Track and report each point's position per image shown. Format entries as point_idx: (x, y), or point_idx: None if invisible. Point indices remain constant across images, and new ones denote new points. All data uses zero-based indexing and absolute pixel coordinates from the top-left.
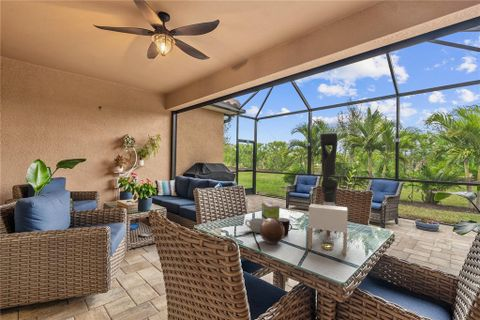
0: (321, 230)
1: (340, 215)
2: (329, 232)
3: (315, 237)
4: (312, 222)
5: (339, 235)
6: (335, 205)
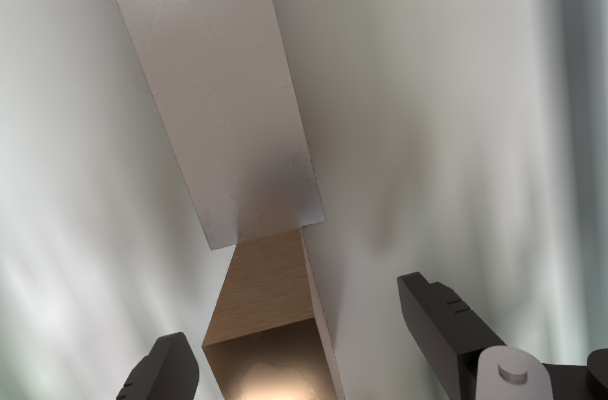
0: (413, 279)
1: None
2: (243, 263)
3: (436, 19)
4: None
5: None
6: None
